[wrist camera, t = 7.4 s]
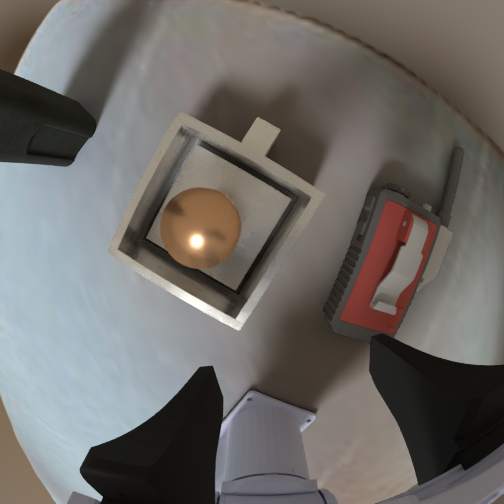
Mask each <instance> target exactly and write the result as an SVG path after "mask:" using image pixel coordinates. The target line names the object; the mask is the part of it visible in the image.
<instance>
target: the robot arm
mask: <svg viewBox="0 0 504 504" xmlns="http://www.w3.org/2000/svg"><path fill="white" fill-rule="evenodd" d="M369 372H370V374H371V376H372V379H373V381H374V384H375V386H376V388H377V390H378V391H379V393H380V395H381V396H382V398H383V400H384V401H385V403H386V405H387V406H388V408H389V409H390V411H391V413H392V414H393V416H394V418H395V419H396V421H397V423H398V425H399V427H400V430H401V432H402V435H403V437H404V440H405V442H406V445H407V448H408V450H409V453H410V456H411V459H412V463H413V466H414V469H415V473H416V477H417V481H418V485H419V486H418V487H416V488H413V489H411V490H409V491H406V492H404V493H402V494H399V495H397V496H394V497H392V498H389V499H386V500H384V501H381V502H378V503H375V504H491V503H492V502H494V501H495V500H496V499H497V498H499V497H500V496H501V495H502V494H504V365H490V366H489V365H472V364H464V363H458V362H453V361H449V360H446V359H442V358H438V357H435V356H432V355H430V354H427V353H425V352H422V351H420V350H417V349H415V348H413V347H411V346H409V345H406V344H404V343H402V342H400V341H398V340H396V339H394V338H392V337H390V336H388V335H386V334H383V333H381V334H378V335H374V336H371V340H370V365H369ZM248 398H251V399H248ZM222 419H223V395H222V392H221V389H220V386H219V383H218V380H217V377H216V374H215V371H214V368H213V366H204V367H199V368H198V370H197V371H196V372H195V373H194V374H193V376H192V377H191V378H190V379H189V380H188V382H187V383H186V384H185V385H184V386H183V388H182V389H181V390H180V391H179V392H178V393H177V394H176V395H175V396H174V397H173V398H172V399H171V400H170V401H169V402H168V403H167V404H166V405H165V406H164V407H163V408H162V409H161V410H160V411H159V412H157V413H156V414H155V415H154V416H152V417H151V418H150V419H148V420H147V421H146V422H144V423H142V424H141V425H139V426H138V427H136V428H135V429H133V430H131V431H130V432H128V433H126V434H124V435H122V436H120V437H118V438H116V439H113V440H111V441H108V442H106V443H103V444H100V445H97V446H94V447H91V449H90V450H89V452H88V454H87V456H86V458H85V460H84V461H83V463H82V465H81V467H80V473H81V475H82V477H83V478H84V479H85V480H86V482H87V483H88V484H90V485H91V486H92V487H93V488H94V489H95V490H96V491H97V492H98V493H99V494H100V495H102V496H103V498H102V501H101V502H100V501H98V500H96V499H94V498H92V497H89V496H86V495H83V494H80V493H77V492H72V494H71V496H70V499H69V501H68V503H67V504H338V501H337V499H336V497H335V496H334V495H333V494H331V493H330V492H329V491H328V490H327V489H318V486H317V481H316V480H310V478H309V473H308V467H307V462H306V457H305V451H304V446H303V441H302V436H301V432H302V431H303V430H304V429H305V428H306V427H308V426H309V425H310V424H311V423H312V422H313V421H314V420H315V419H316V414H315V413H312V412H309V411H307V410H304V409H301V408H298V407H295V406H292V405H290V404H287V403H284V402H282V401H279V400H276V399H274V398H271V397H269V396H266V395H264V394H261V393H259V392H257V391H253V390H251V391H249V392H248V393H247V394H246V395H245V396H244V397H243V399H242V400H241V401H240V402H239V403H238V404H237V406H236V407H235V408H234V409H233V410H232V411H231V412H230V414H229V415H228V416H227V417H226V418H225V419H224V420H223V421H222ZM309 419H310V420H309Z"/></svg>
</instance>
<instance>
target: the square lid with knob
mask: <svg viewBox="0 0 504 504" xmlns="http://www.w3.org/2000/svg"><path fill="white" fill-rule="evenodd" d="M290 201H291V199H290V198H289V197H287V196H286V195H284V194H282V193H281V192H279V191H277V190H276V189H274V188H272V187H271V186H269V185H267V184H266V183H264V182H262V181H261V180H259V179H257V178H256V177H254V176H252V175H251V174H249V173H247V172H245V171H244V170H242V169H240V168H238V167H237V166H235V165H233V164H231V163H230V162H228V161H226V160H224V159H222V158H221V157H219V156H217V155H215V154H213V153H211V152H210V151H208V150H206V149H204V148H202V147H200V146H198V145H196V147H195V148H194V150H193V152H192V153H191V155H190V157H189V158H188V160H187V162H186V163H185V165H184V167H183V169H182V170H181V172H180V174H179V176H178V177H177V179H176V181H175V183H174V185H173V186H172V188H171V190H170V192H169V194H168V196H167V198H166V199H165V201H164V203H163V205H162V207H161V209H160V211H159V213H158V215H157V217H156V219H155V221H154V223H153V225H152V227H151V229H150V231H149V233H148V235H147V237H146V238H147V239H149V240H150V241H152V242H154V243H155V244H157V245H159V246H160V247H162V248H163V249H165V250H167V252H168V253H169V254H170V255H171V256H172V257H173V258H174V259H175V260H176V261H177V262H179V263H180V264H182V265H184V266H187V267H190V268H194V269H199V270H200V271H202V272H204V273H206V274H207V275H209V276H211V277H213V278H214V279H216V280H218V281H220V282H221V283H223V284H225V285H227V286H228V287H230V288H232V289H234V290H235V291H236V289H237V287H238V286H239V284H240V283H241V281H242V279H243V278H244V276H245V274H246V273H247V271H248V270H249V268H250V266H251V265H252V263H253V261H254V260H255V258H256V257H257V255H258V253H259V252H260V250H261V248H262V247H263V245H264V244H265V242H266V240H267V239H268V237H269V235H270V234H271V232H272V230H273V229H274V227H275V226H276V224H277V222H278V221H279V219H280V217H281V216H282V214H283V212H284V211H285V209H286V208H287V206H288V204H289V203H290Z"/></svg>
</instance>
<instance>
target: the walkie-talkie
mask: <svg viewBox="0 0 504 504" xmlns="http://www.w3.org/2000/svg"><path fill="white" fill-rule="evenodd" d="M463 154H464V151H463V149H462V148H461V147H459V146H458V147H455V149H454V153H453V158H452V164H451V168H450V173H449V178H448V182H447V186H446V190H445V194H444V198H443V202H442V205H441V209H440V211H438V214H437V215H435V214H433V213H432V212H431V209H432V207H431V206H430V205H428V204H423V206H422V207H421V206H419V205H418V204H416V203H414V202H412V201H410V200H409V199H408V198H409V197H410V192H409V191H408V190H407V189H406V188H404V187H402V186H399V185H396V184H393V183H388V184H387V185H386V187H385V189H372V190H371V191H369V192H368V195H367V198H366V201H365V204H364V207H363V210H362V213H361V215H360V218H359V221H358V224H357V227H356V229H355V232H354V235H353V238H352V240H351V246H350V248H348V250H349V251H348V254H346V259H345V260H344V261H343V263H344V264H343V266H342V267H341V268H340V269H341V271H340V273H338V275H339V276H338V279H336V280H335V281H336V283H335V285H333V290H332V291H331V292H330V294H331V295H330V297H328V302H327V303H326V304H325V308H324V309H323V312H324V314H325V317H326V319H327V321H328V323H329V324H330V326H331V328H332V330H333V331H334V332H335V333H337V334H339V335H342V336H346V337H350V338H354V339H358V340H362V341H366V342H370V340H371V336H374V335H378V334H381V333H383V334H386V335H388V336H390V337H392V338H394V336H395V334H396V333H397V330H398V328H399V327H400V324H401V323H402V320H403V318H404V317H405V314H406V312H407V311H408V308H409V306H410V305H411V301H412V299H413V298H414V294H415V293H419V291H420V289H422V288H423V287H424V286H425V285H426V284H428V283H429V282H430V281H431V280H432V279H434V278H435V277H436V276H437V275H438V272H439V270H440V267H441V265H442V262H443V259H444V257H445V254H446V251H447V248H448V245H449V242H450V241H451V240H452V237H453V232H452V231H450V230H448V229H447V228H448V224H449V221H450V218H451V216H450V212H451V209H452V205H453V201H454V197H455V193H456V189H457V185H458V180H459V175H460V171H461V165H462V160H463Z"/></svg>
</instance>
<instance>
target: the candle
mask: <svg viewBox="0 0 504 504" xmlns="http://www.w3.org/2000/svg"><path fill="white" fill-rule="evenodd" d="M95 128H96V123H95V120H94V119H93V118H92V117H91V116H90V114H89V113H88V112H87V111H86V110H85V109H84V108H83V107H82V106H81V105H80V104H79V103H78V102H76V101H74V100H72V99H70V98H68V97H65V96H63V95H61V94H59V93H56V92H54V91H52V90H50V89H47V88H45V87H43V86H40V85H38V84H36V83H33V82H31V81H29V80H26V79H24V78H21V77H19V76H16V75H14V74H11V73H9V72H6V71H3V70H1V69H0V162H12V163H28V164H42V165H54V166H69V165H71V164H72V163H73V162H74V157H75V156H76V155H77V153H78V152H79V150H80V149H81V148H82V146H83V145H84V144H85V142H86V141H87V140H88V138H91V137H92V135H93V134H94V132H95Z"/></svg>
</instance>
